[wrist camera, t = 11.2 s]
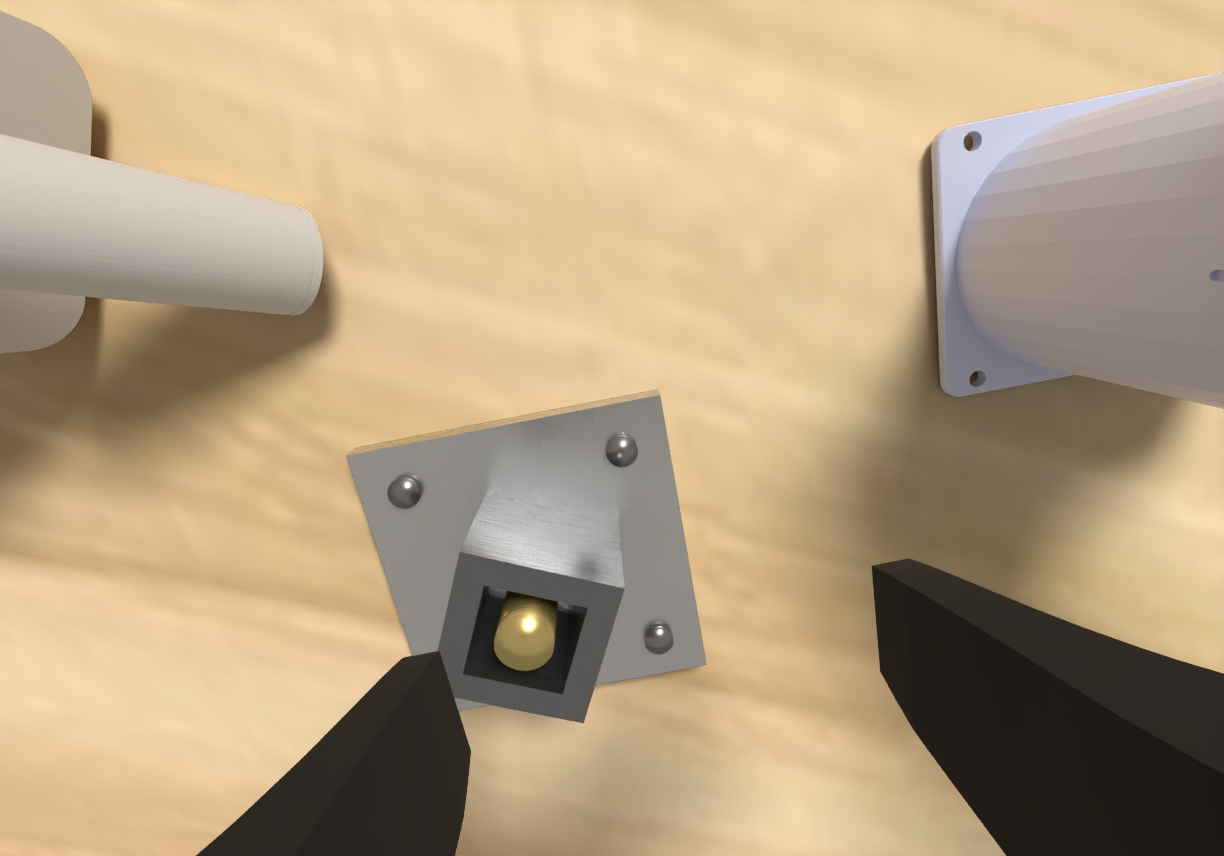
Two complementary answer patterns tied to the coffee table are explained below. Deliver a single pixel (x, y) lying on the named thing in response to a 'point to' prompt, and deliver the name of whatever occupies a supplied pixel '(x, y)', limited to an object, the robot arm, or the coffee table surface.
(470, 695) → the hollow square tube
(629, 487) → the anchor plate
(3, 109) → the wall hook
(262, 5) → the coffee table surface
